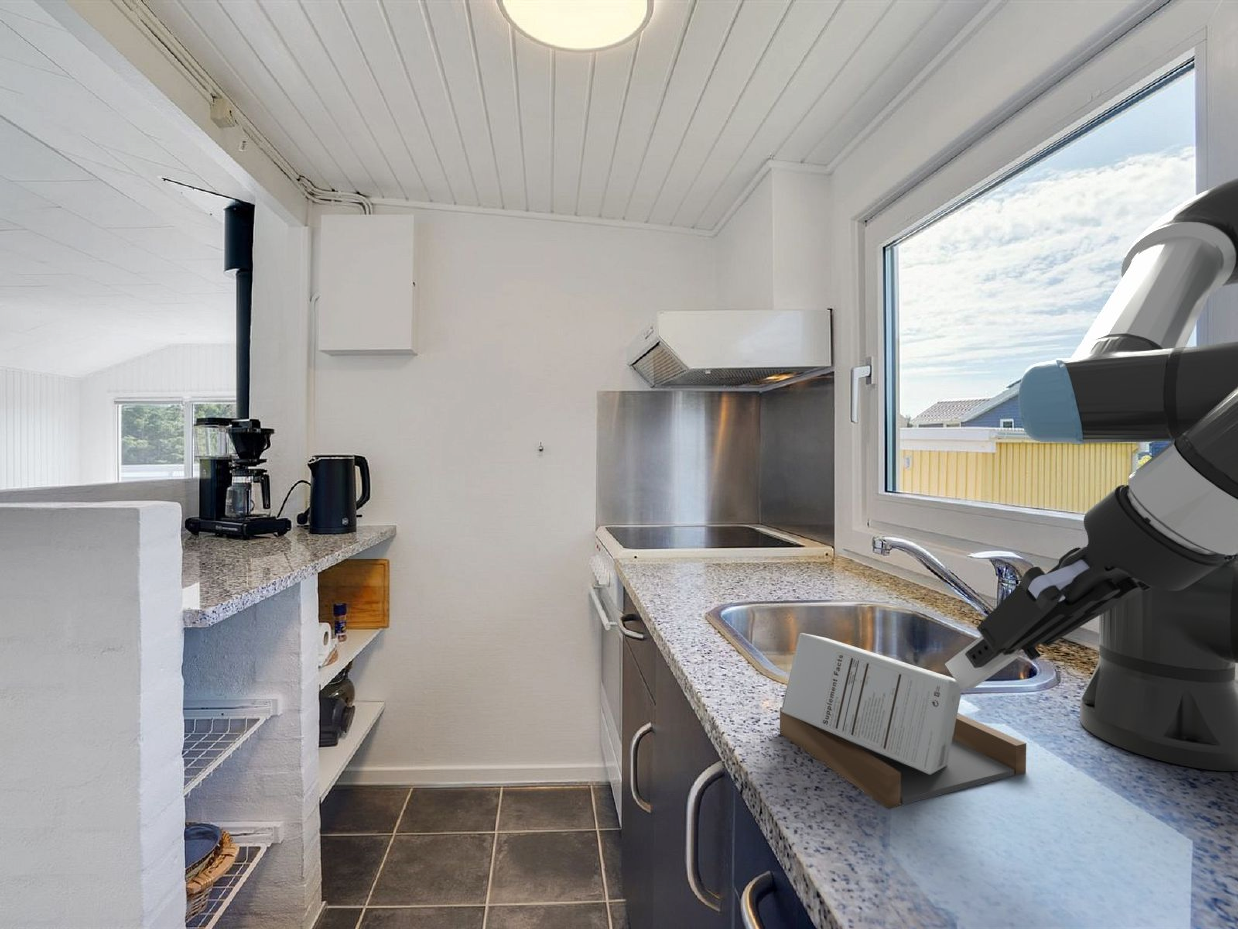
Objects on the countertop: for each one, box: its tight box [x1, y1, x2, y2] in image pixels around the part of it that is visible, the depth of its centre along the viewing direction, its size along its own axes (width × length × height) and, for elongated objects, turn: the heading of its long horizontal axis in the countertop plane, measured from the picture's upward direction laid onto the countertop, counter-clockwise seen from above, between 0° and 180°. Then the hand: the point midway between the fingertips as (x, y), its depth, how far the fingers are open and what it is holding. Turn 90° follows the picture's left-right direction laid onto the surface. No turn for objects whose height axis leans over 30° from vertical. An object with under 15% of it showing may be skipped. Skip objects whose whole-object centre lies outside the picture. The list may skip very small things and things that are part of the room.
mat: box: [846, 739, 1015, 806], centre depth 65 cm, size 15×16×1 cm
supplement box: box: [781, 632, 963, 774], centre depth 63 cm, size 9×9×15 cm
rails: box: [779, 706, 1027, 809], centre depth 65 cm, size 18×16×3 cm
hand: (958, 676), depth 57 cm, fingers closed
